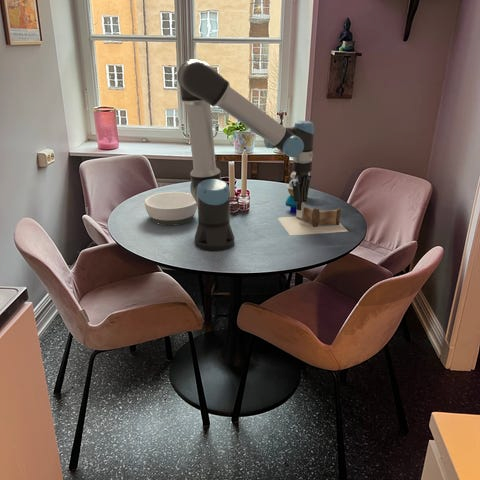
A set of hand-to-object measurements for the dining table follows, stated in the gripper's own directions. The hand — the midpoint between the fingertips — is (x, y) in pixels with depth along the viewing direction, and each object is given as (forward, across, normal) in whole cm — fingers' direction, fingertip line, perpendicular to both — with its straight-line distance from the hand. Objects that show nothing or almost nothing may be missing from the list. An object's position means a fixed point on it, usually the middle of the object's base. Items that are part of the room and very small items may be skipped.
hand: (299, 216), depth 202 cm
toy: (+3, +11, +8) cm, 14 cm away
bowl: (+3, -26, +48) cm, 54 cm away
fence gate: (+2, +2, -1) cm, 3 cm away
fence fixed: (+2, +3, -11) cm, 11 cm away
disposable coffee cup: (+2, +30, +16) cm, 34 cm away
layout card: (+3, 0, -5) cm, 6 cm away
